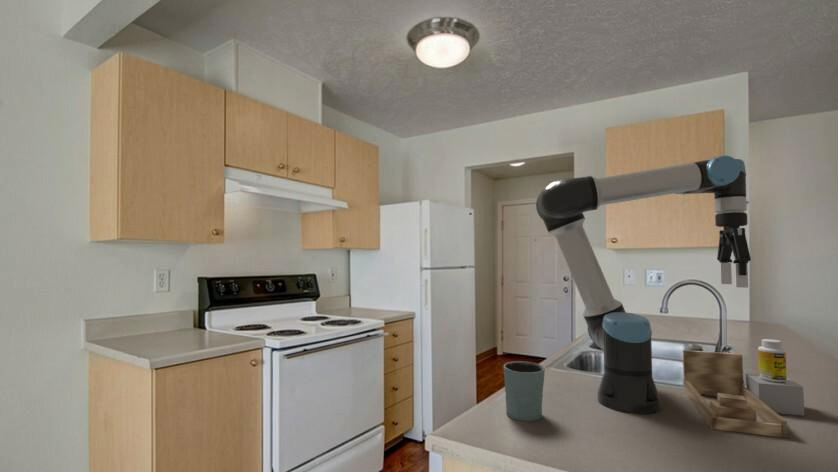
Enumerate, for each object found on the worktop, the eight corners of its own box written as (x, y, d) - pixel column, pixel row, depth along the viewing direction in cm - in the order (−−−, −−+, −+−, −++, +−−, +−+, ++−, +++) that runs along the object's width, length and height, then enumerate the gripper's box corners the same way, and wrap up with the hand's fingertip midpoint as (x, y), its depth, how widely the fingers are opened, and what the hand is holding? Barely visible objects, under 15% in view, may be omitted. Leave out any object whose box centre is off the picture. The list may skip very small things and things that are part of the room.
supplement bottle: (775, 383, 106) (774, 343, 107) (753, 377, 112) (752, 338, 112) (792, 382, 108) (790, 341, 108) (769, 376, 113) (768, 337, 114)
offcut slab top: (717, 418, 97) (717, 407, 97) (710, 411, 101) (710, 401, 101) (756, 421, 95) (756, 410, 95) (747, 414, 99) (747, 403, 99)
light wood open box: (711, 428, 96) (709, 375, 97) (684, 391, 122) (682, 349, 123) (787, 438, 91) (785, 381, 92) (742, 397, 117) (740, 353, 117)
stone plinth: (759, 411, 107) (758, 383, 107) (746, 399, 115) (745, 373, 115) (804, 415, 103) (803, 387, 104) (787, 403, 112) (786, 377, 112)
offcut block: (720, 405, 98) (720, 396, 98) (717, 401, 101) (717, 392, 101) (746, 409, 96) (746, 400, 96) (743, 404, 98) (743, 396, 99)
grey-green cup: (518, 404, 112) (517, 359, 113) (553, 414, 105) (552, 366, 106) (496, 414, 105) (495, 366, 106) (532, 426, 98) (531, 374, 98)
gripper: (763, 207, 110) (767, 289, 109) (732, 215, 133) (734, 283, 132) (729, 209, 113) (732, 288, 112) (704, 216, 136) (706, 282, 135)
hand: (733, 285), depth 122 cm, fingers open, 13 cm apart
